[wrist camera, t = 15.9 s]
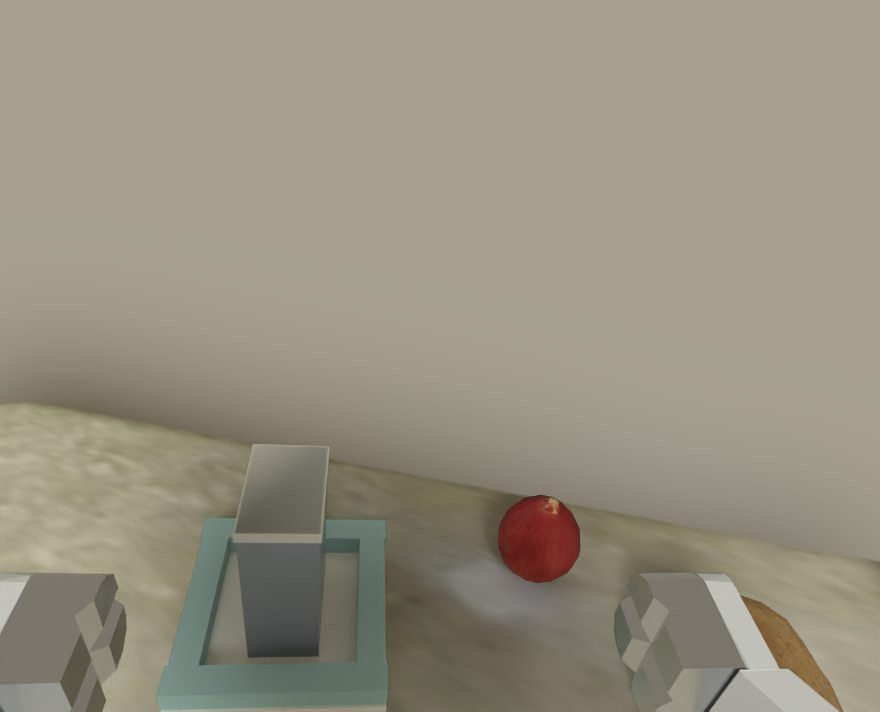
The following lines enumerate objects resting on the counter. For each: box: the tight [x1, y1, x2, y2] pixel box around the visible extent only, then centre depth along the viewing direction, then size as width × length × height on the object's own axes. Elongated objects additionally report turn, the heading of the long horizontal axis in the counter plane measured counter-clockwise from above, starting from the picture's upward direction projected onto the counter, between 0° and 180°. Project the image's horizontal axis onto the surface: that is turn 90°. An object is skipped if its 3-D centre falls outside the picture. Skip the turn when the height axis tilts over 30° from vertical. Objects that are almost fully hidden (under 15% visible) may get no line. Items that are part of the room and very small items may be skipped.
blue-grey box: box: [232, 444, 330, 658], centre depth 35 cm, size 4×6×11 cm
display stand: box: [156, 518, 388, 712], centre depth 39 cm, size 12×12×4 cm
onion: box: [498, 495, 580, 583], centre depth 44 cm, size 6×6×8 cm
